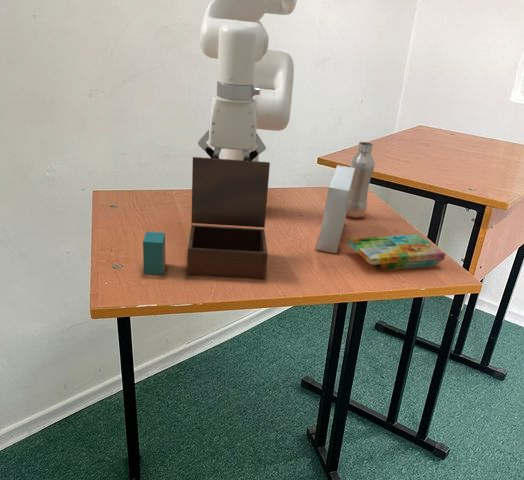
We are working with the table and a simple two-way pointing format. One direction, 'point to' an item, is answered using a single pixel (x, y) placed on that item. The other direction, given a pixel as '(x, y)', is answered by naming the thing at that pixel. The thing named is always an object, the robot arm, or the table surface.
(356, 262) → the table surface
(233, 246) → the chest
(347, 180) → the skincare box
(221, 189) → the lid
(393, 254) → the puzzle game
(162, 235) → the block
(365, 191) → the silver metal bottle
